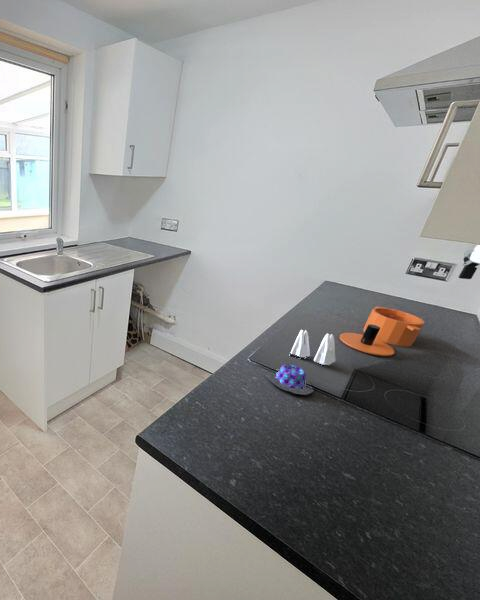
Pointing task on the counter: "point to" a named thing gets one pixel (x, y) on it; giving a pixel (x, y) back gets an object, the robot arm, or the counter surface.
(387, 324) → the pot
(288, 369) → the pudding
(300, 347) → the shaker set
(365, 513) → the counter surface
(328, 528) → the counter surface
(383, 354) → the pot lid
